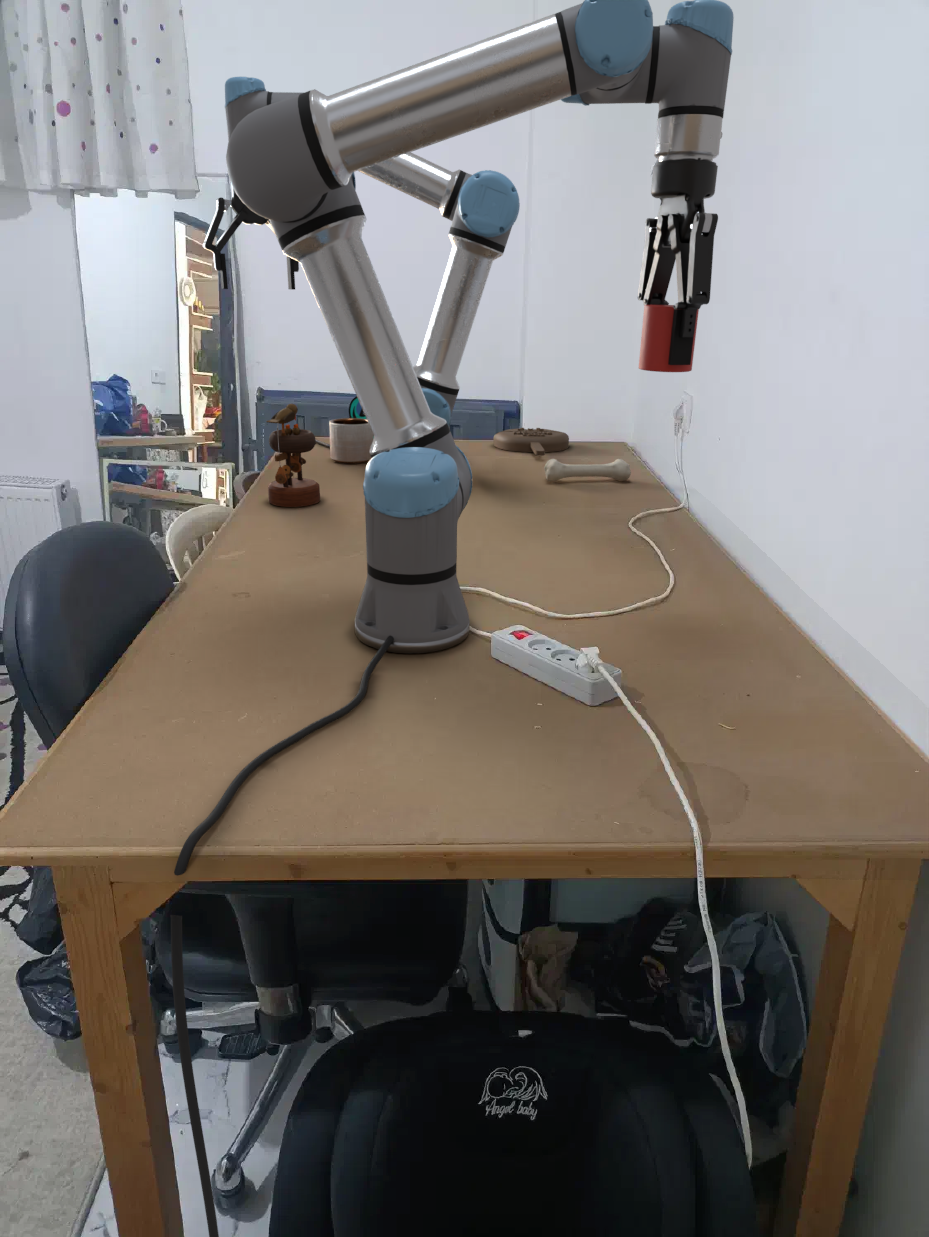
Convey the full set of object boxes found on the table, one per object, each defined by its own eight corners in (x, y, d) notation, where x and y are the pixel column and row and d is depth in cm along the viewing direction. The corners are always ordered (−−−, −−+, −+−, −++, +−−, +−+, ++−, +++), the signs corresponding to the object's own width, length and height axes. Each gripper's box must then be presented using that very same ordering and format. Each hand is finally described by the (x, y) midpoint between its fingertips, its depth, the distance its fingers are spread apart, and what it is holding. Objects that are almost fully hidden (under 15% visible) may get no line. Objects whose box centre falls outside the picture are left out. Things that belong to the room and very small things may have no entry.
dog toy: (623, 476, 201) (625, 455, 199) (632, 482, 195) (634, 461, 193) (540, 478, 198) (541, 457, 196) (547, 484, 192) (548, 462, 190)
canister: (649, 372, 106) (656, 306, 103) (630, 366, 112) (636, 304, 109) (700, 372, 107) (708, 307, 104) (678, 366, 113) (685, 305, 110)
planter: (327, 456, 217) (325, 418, 214) (369, 454, 220) (368, 417, 217) (334, 465, 208) (332, 425, 204) (377, 463, 211) (376, 424, 207)
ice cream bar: (499, 460, 215) (500, 444, 214) (491, 440, 241) (491, 425, 240) (581, 461, 216) (582, 444, 215) (564, 441, 242) (565, 426, 241)
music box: (312, 509, 169) (298, 407, 161) (260, 512, 170) (243, 411, 162) (332, 491, 183) (320, 396, 175) (283, 493, 184) (269, 399, 176)
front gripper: (761, 153, 93) (732, 369, 102) (673, 171, 110) (655, 354, 119) (700, 149, 91) (676, 370, 100) (621, 168, 108) (606, 354, 117)
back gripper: (186, 166, 156) (198, 289, 164) (318, 174, 166) (323, 290, 174) (181, 169, 162) (192, 288, 170) (308, 177, 172) (313, 289, 180)
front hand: (664, 361), depth 109 cm, fingers closed on canister, 7 cm apart
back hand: (258, 289), depth 172 cm, fingers open, 13 cm apart
